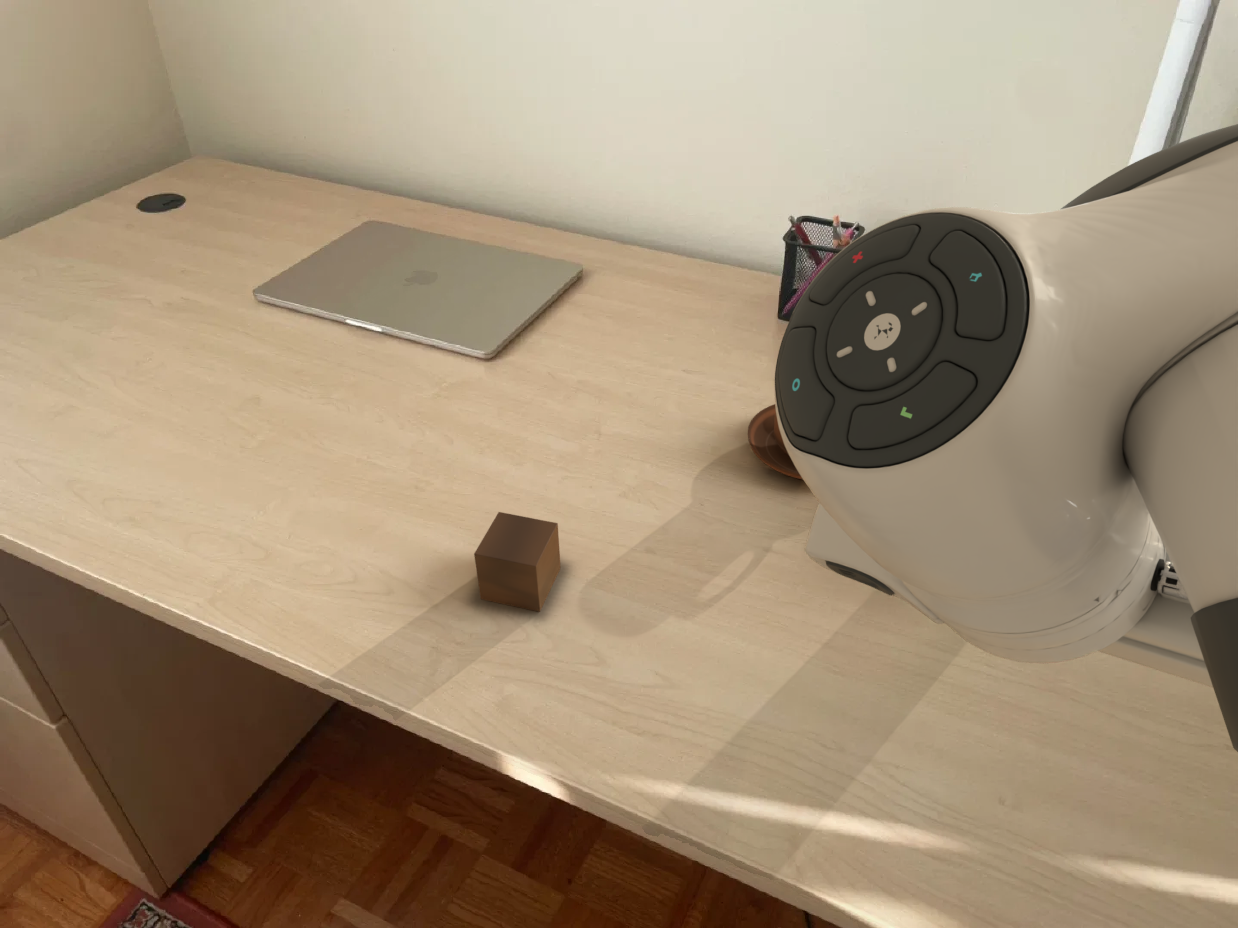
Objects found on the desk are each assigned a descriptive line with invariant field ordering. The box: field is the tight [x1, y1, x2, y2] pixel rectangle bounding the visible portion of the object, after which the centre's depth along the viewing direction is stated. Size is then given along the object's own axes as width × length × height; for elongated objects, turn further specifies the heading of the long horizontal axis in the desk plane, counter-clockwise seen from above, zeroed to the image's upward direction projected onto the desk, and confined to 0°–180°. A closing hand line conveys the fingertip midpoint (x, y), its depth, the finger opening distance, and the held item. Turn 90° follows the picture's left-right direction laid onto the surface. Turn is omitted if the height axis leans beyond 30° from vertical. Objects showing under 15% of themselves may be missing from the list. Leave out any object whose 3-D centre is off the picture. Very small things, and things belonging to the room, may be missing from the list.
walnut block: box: [473, 511, 562, 613], centre depth 72 cm, size 5×5×5 cm
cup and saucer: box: [747, 403, 804, 481], centre depth 84 cm, size 12×12×6 cm
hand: (1089, 630), depth 44 cm, fingers closed
